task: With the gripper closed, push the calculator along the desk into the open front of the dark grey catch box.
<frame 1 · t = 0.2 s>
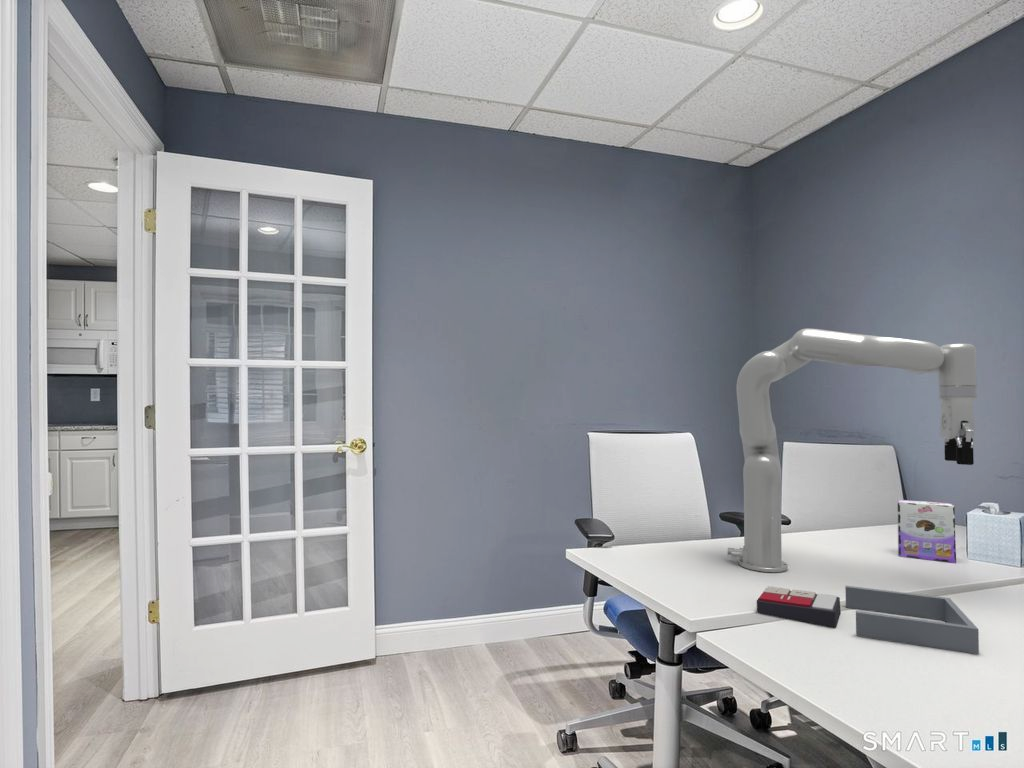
hand: (958, 462, 142), 31 cm above the table, tool pointing down, fingers open, 9 cm apart
candy box: (925, 558, 170), on the table
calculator: (798, 615, 125), on the table
catch box: (905, 627, 117), on the table
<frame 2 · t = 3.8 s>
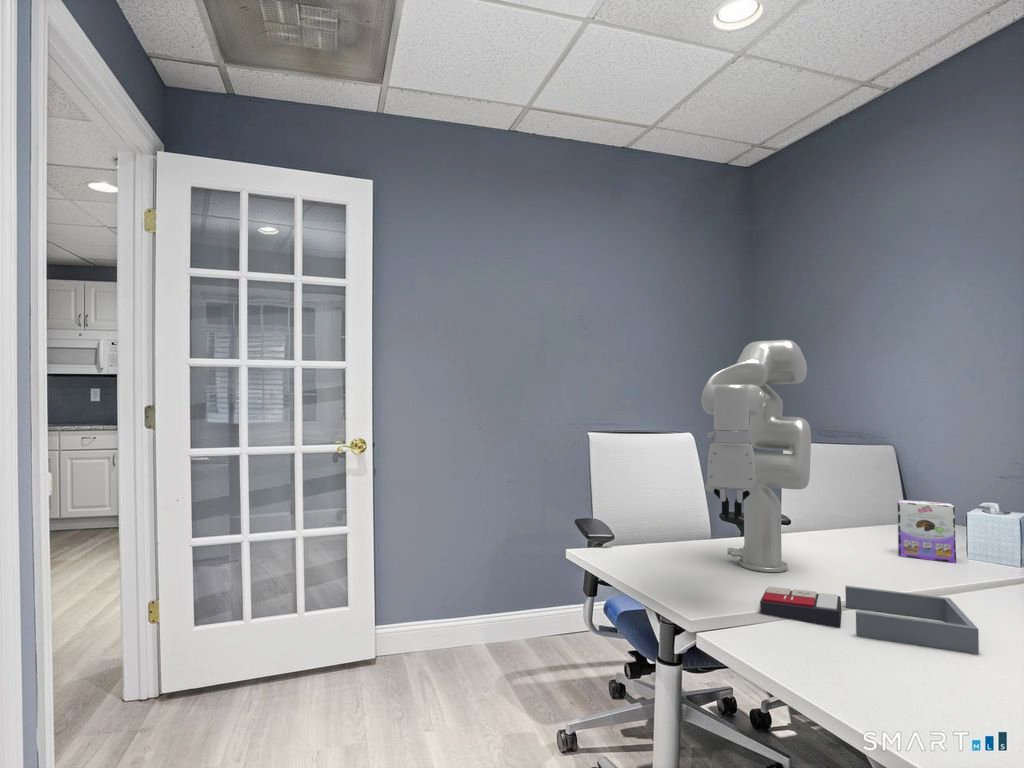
hand: (731, 518, 131), 19 cm above the table, tool pointing down, fingers closed
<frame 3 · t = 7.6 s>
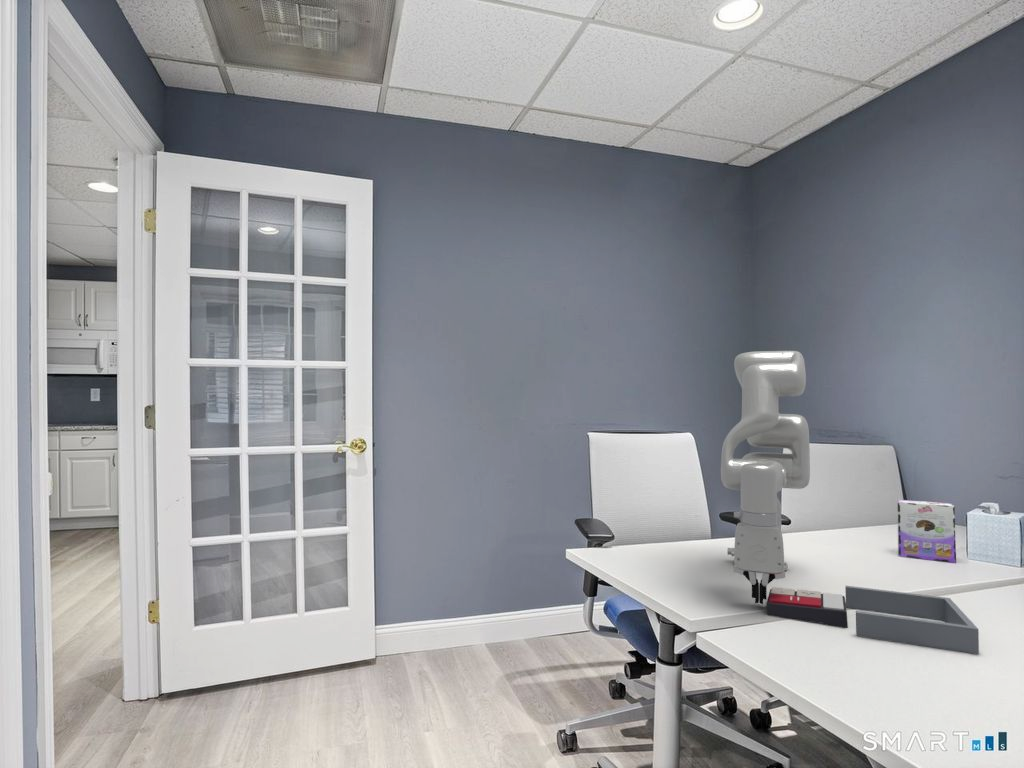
hand: (759, 601, 128), 1 cm above the table, tool pointing down, fingers closed
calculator: (806, 615, 125), on the table
everything else where it was.
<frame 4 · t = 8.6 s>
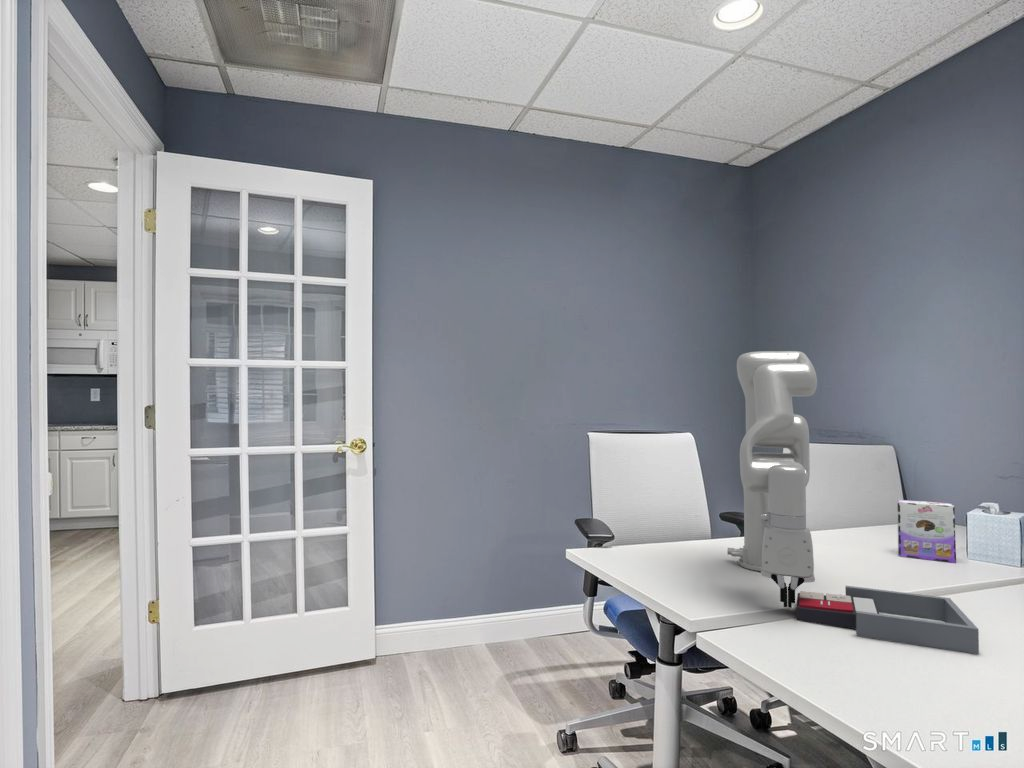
hand: (787, 605, 126), 1 cm above the table, tool pointing down, fingers closed
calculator: (836, 620, 122), on the table
everything else where it was.
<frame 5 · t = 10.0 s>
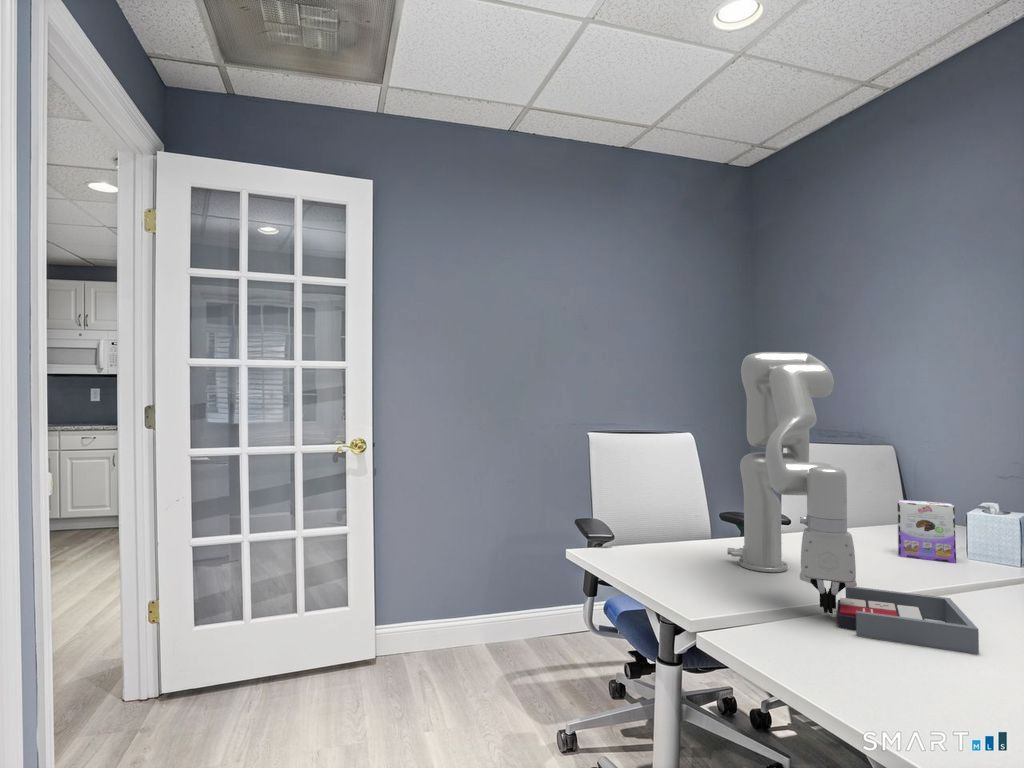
hand: (827, 611, 123), 1 cm above the table, tool pointing down, fingers closed
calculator: (880, 629, 118), on the table, touching gripper
everything else where it was.
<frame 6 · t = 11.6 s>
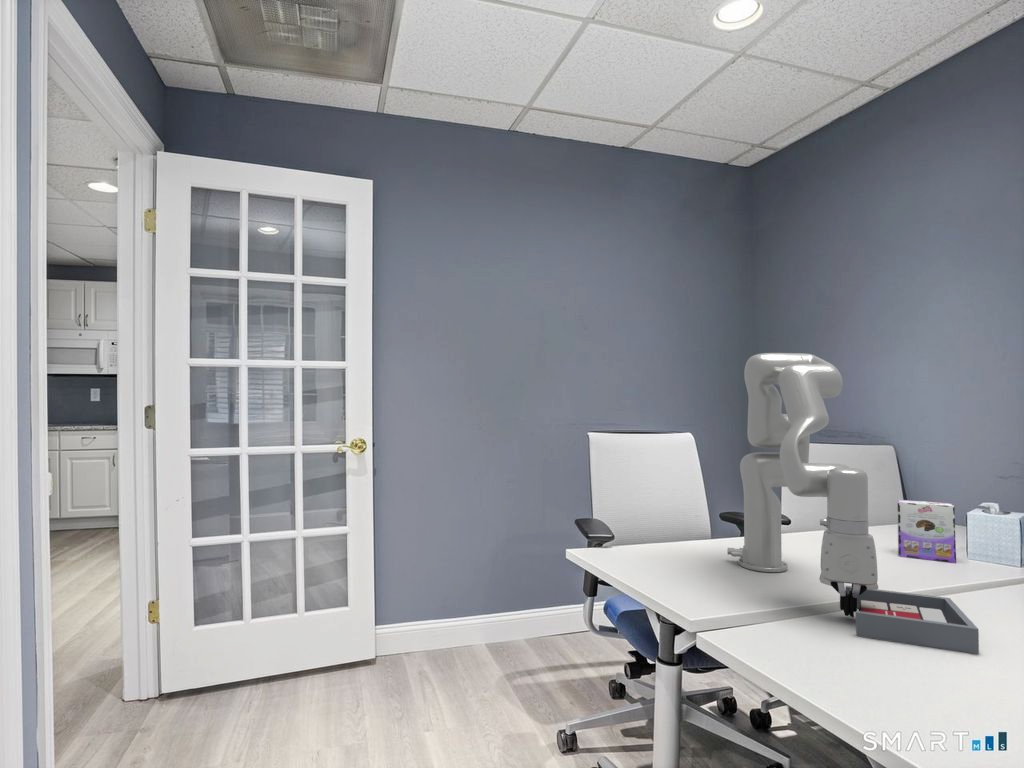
hand: (848, 614, 121), 1 cm above the table, tool pointing down, fingers closed
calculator: (902, 632, 116), on the table
everything else where it was.
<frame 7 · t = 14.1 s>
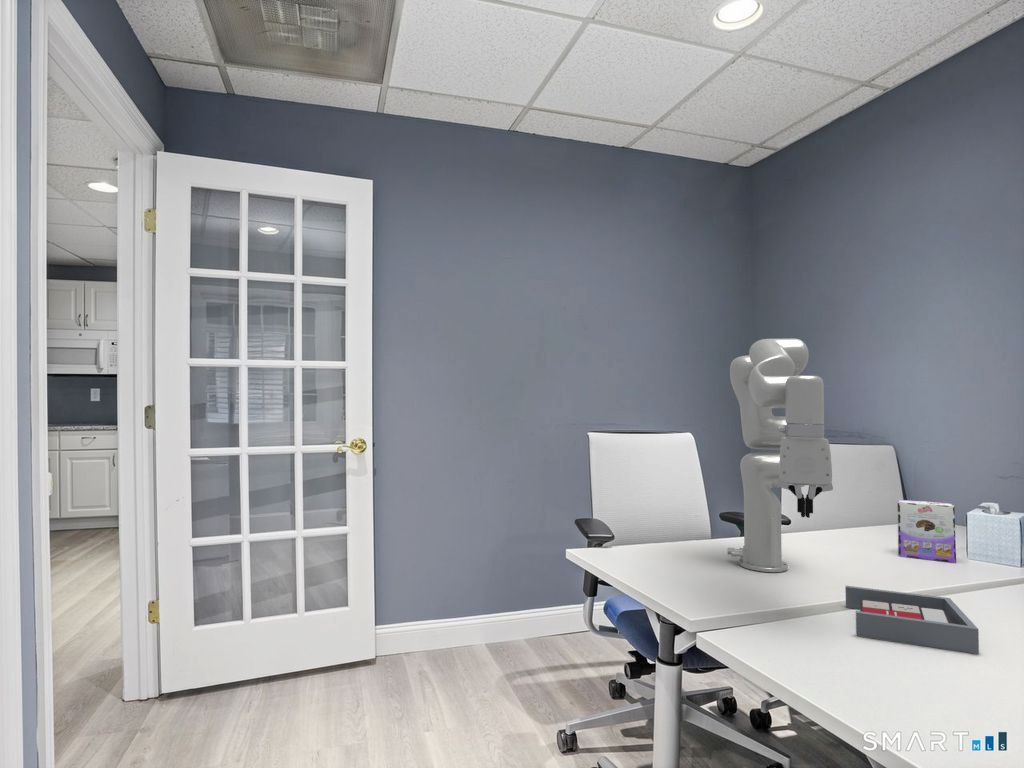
hand: (805, 516, 125), 21 cm above the table, tool pointing down, fingers closed
nothing on the table moved.
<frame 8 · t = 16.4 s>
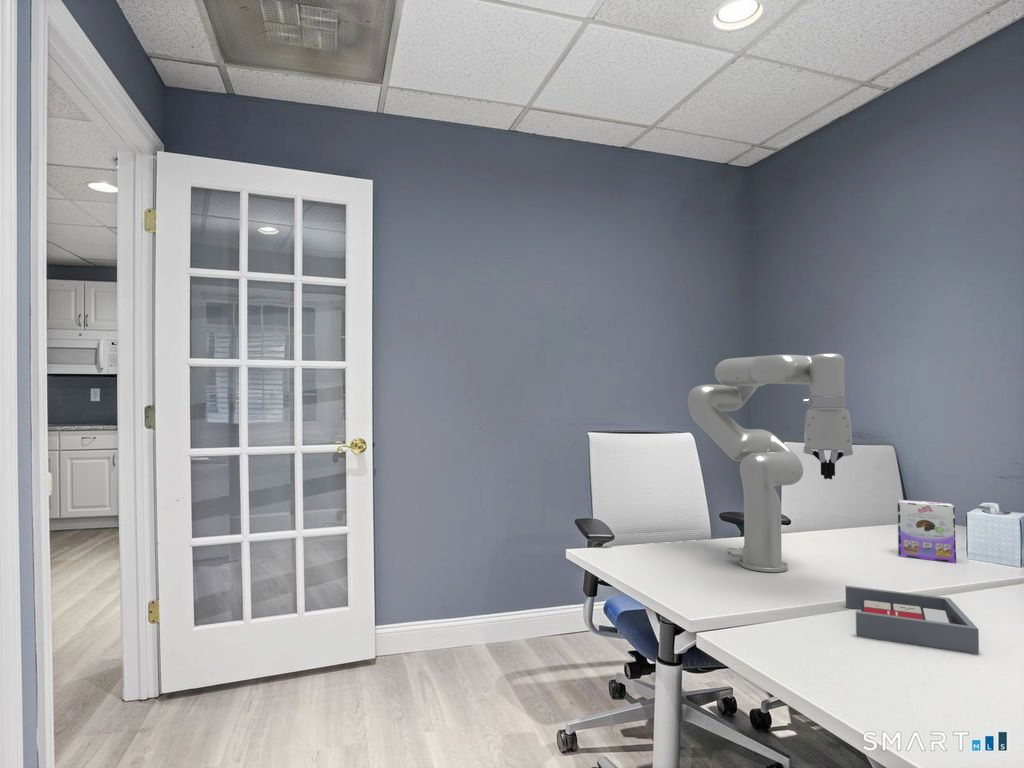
hand: (827, 478, 141), 27 cm above the table, tool pointing down, fingers closed
nothing on the table moved.
at the end: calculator inside the target area (1.0 cm from its centre), on the table; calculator tilted 2°; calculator moved 19.4 cm from its start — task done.
